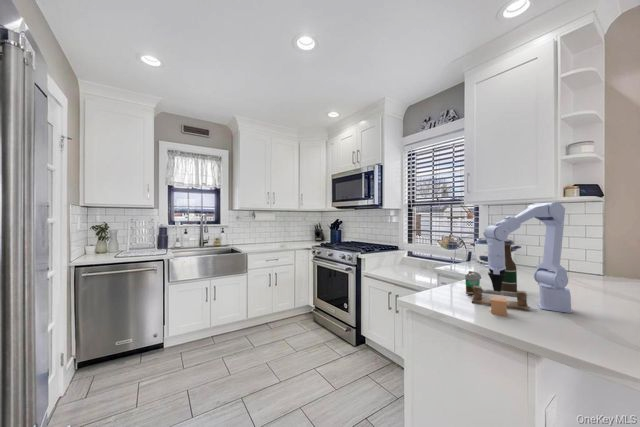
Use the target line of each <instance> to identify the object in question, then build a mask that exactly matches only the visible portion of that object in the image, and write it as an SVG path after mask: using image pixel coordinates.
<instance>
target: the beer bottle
mask: <svg viewBox="0 0 640 427" xmlns="http://www.w3.org/2000/svg"><path fill="white" fill-rule="evenodd" d="M504 244H505V267H506V269H505V272H504V275H505V278H504V279H503V282H502V287H501V291H508V292H516V293H517V291H518V278H517V277H518V276H517V274H518V273H517V265H516V263H515V262H514V260H513V258H512V250H511V247H512V245H511V244H510V243H504Z"/></svg>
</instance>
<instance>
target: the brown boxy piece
mask: <svg viewBox="0 0 640 427" xmlns="http://www.w3.org/2000/svg"><path fill="white" fill-rule="evenodd" d="M482 294H486V295H487V294H488V295H496V296H503V297H511V298H516V301H514V300H508V299H506V304H507V309H511V310H518V311H519V310H520V311H523V312H524V311H525V312H529V311H530V307H529V305H528V301H527V299H528V298H527V291H523V290H517V292H508V291H500V292H498V291H494V289H489V288H482V286H480V285H479V286H473V296H472V299H471V303H472V302H473V303H472V304H477V303H480V304H479V305H483V304H485V305H484V306H486V305H487V306H490V307H491V297H485V296H482Z"/></svg>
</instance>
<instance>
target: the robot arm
mask: <svg viewBox="0 0 640 427" xmlns="http://www.w3.org/2000/svg"><path fill="white" fill-rule="evenodd" d="M565 212H566V207H565V206H564V205H563V204H562V203H561V202H559V201H553V202H534V203H532V204H530V205H528V206H527V208H525V209H524V210H522V211H521V212H520V213H518V214H516V215H515V216H511V215H509V216H504V219H502V220H500V221H497V222H495V224H494V225H488V226H487V227H486V228H485V229H484V232H483V237H484V238H485V240H486V244H487V264H485V265H484V268H488V271H489V272H487V275H488V276H489V279H490V282H491V285H492V290H494V291H498V292H500V291H501V287H502V282H503V279H504V278H505V275H504V272H505V269H506V267H505V244H506V243H505V240H507V239H508V237H509V235H510V234H511V233H513V232H515V231H517V230H518V229H520V228H521V224H522V223H525V222H528V221H529V220H531V219H533V218H535V219H536V220H537V221H540V222H541V223H543V224H544V225H545V227H546V228H545V233H544V234H545V235H544V246H543V255H542V256H543V258H542V262H540V263H539V264H537V265H536V268H535V271H534V273H533V279H534V281H535V282H536V283H537V285H539V302H537V305H538V306H539V309H540V310H546V311H547V310H548V311H553V312H560V313H561V312H562V313H568V314H572V312H573V311H572V298H571V292H570V289H569V288H567V285H568V284H569V277H568V270H567V269H565V268H564V267H563V266H562V265H561V259H562V258H561V257H562V247H563V237H564V229H565V228H564V227H565V226H564V225H565V215H566V214H565Z"/></svg>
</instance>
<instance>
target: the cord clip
mask: <svg viewBox="0 0 640 427" xmlns="http://www.w3.org/2000/svg"><path fill="white" fill-rule="evenodd" d="M490 298H491V306H490V307H491V308H490V310H491V311H490V313H491V314H492V315H497V316H503V317H507V316H508V313H507V312H508V310H507V309H508V308H507V304H506V300H507V298H505V297H498V296H497V297H496V296H490Z"/></svg>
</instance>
